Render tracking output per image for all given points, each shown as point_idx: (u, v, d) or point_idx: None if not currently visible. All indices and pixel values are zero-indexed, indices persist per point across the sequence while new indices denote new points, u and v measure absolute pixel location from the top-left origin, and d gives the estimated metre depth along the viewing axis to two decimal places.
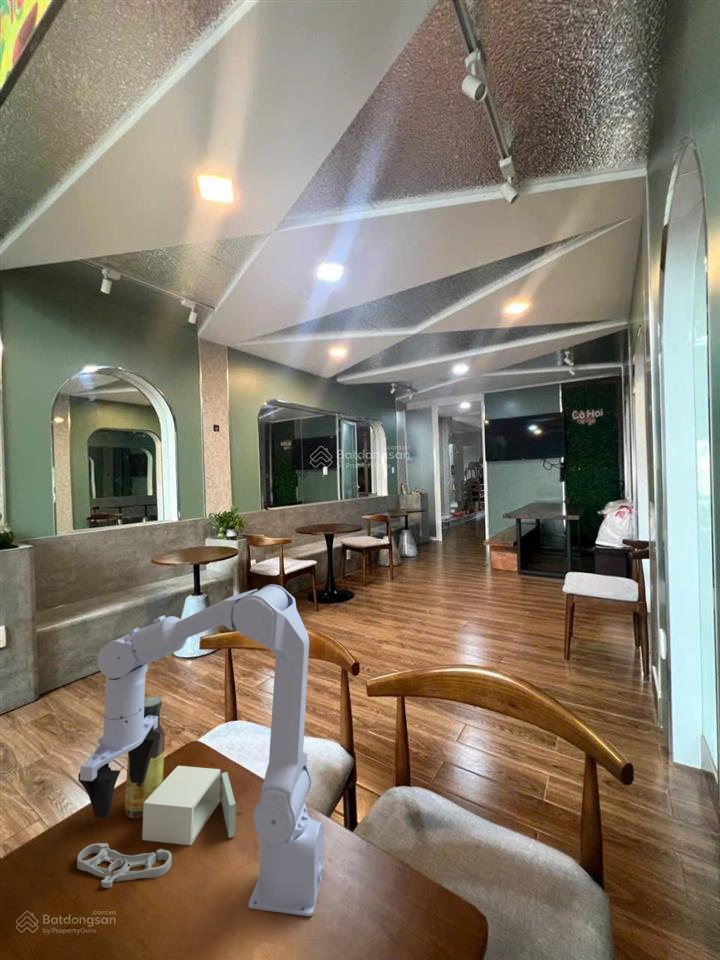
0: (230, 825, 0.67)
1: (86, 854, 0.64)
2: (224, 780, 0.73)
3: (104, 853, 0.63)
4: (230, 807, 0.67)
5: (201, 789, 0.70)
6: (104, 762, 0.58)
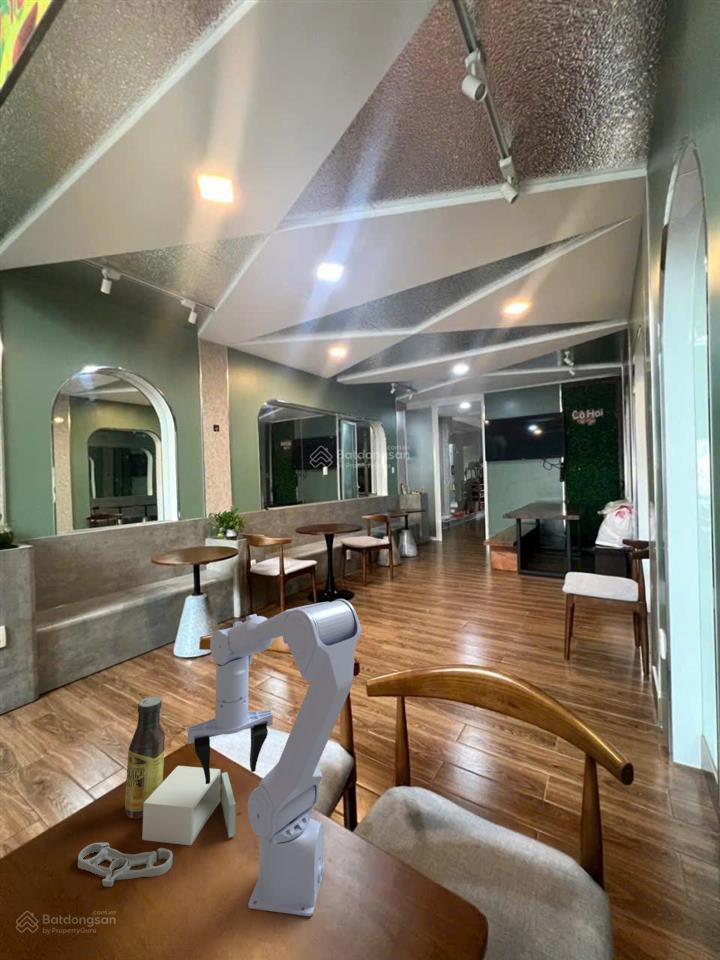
0: (230, 825, 0.67)
1: (87, 853, 0.64)
2: (224, 780, 0.73)
3: (105, 852, 0.63)
4: (230, 807, 0.67)
5: (201, 789, 0.70)
6: (200, 733, 0.67)
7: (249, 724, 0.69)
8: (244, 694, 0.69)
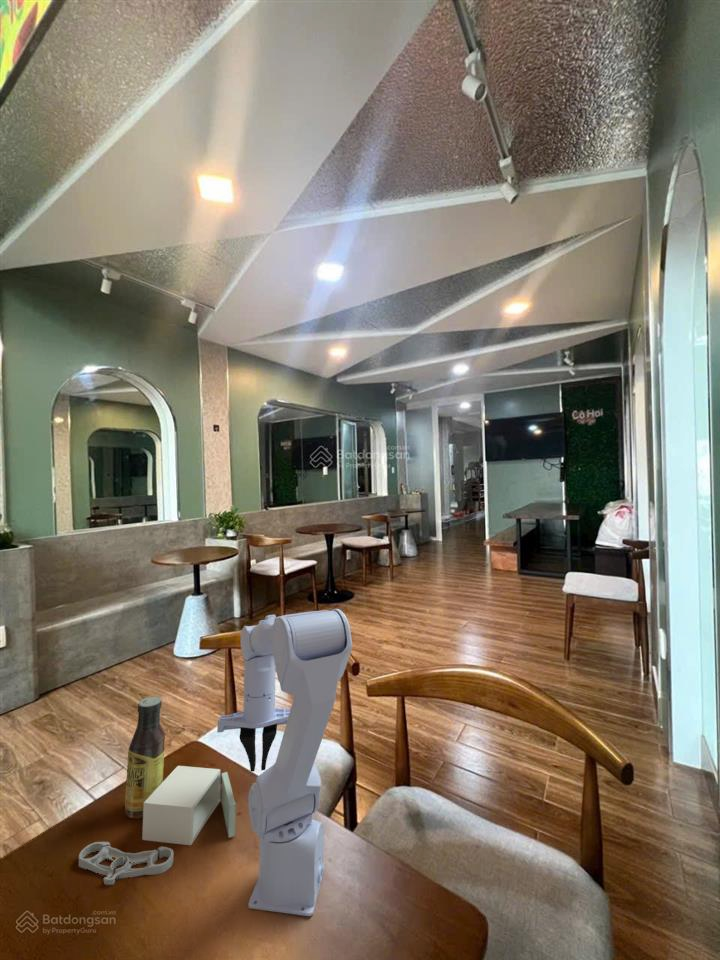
0: (230, 825, 0.67)
1: (87, 853, 0.64)
2: (224, 780, 0.73)
3: (105, 851, 0.63)
4: (230, 807, 0.67)
5: (201, 789, 0.70)
6: (228, 724, 0.70)
7: (274, 721, 0.70)
8: (268, 691, 0.71)
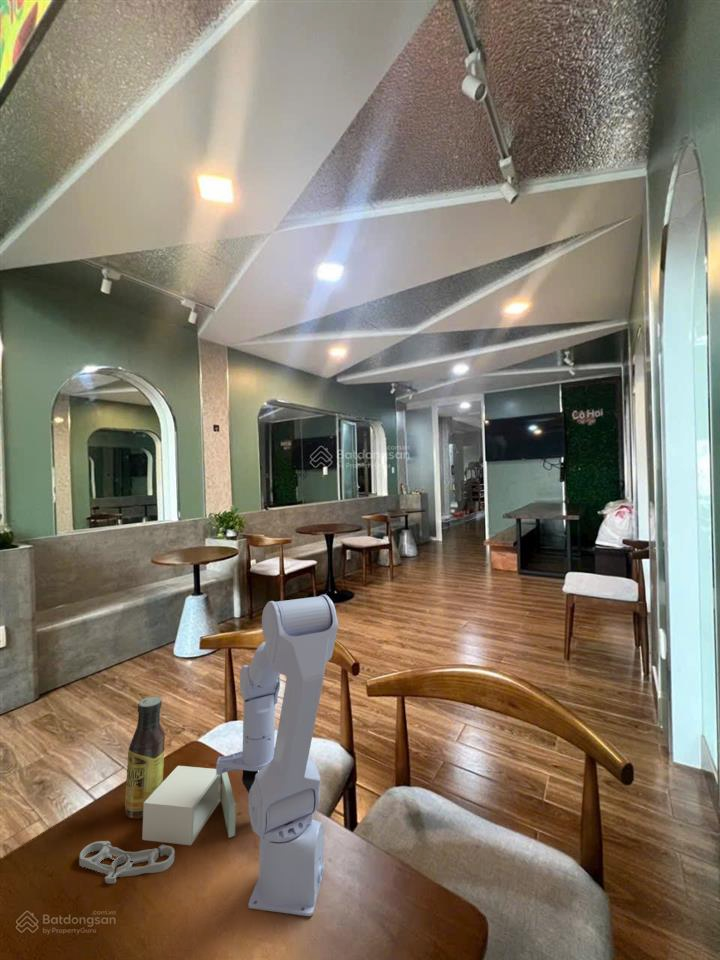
0: (230, 825, 0.67)
1: (88, 852, 0.64)
2: (224, 780, 0.73)
3: (106, 850, 0.64)
4: (230, 807, 0.67)
5: (201, 789, 0.70)
6: (227, 766, 0.69)
7: None
8: (267, 733, 0.70)
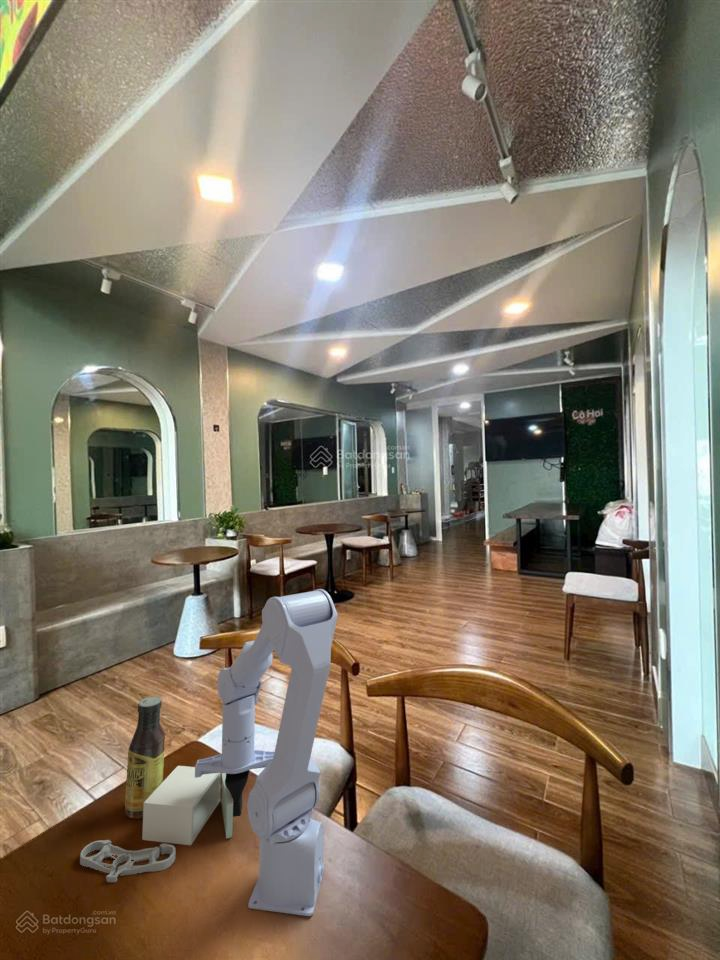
0: (227, 826, 0.67)
1: (88, 851, 0.64)
2: (223, 780, 0.73)
3: (107, 849, 0.64)
4: (227, 808, 0.67)
5: (201, 789, 0.70)
6: (206, 769, 0.69)
7: (252, 766, 0.69)
8: (249, 733, 0.70)
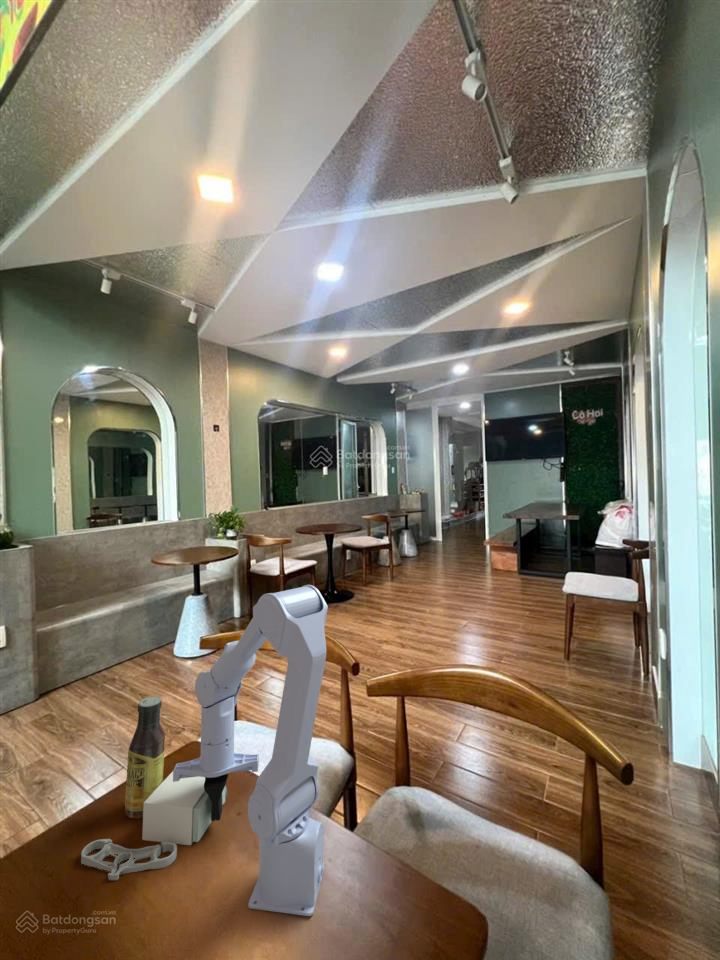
0: (194, 829, 0.66)
1: (89, 850, 0.64)
2: None
3: (108, 848, 0.64)
4: (194, 811, 0.66)
5: (201, 789, 0.70)
6: (184, 773, 0.68)
7: (231, 769, 0.68)
8: (230, 735, 0.70)
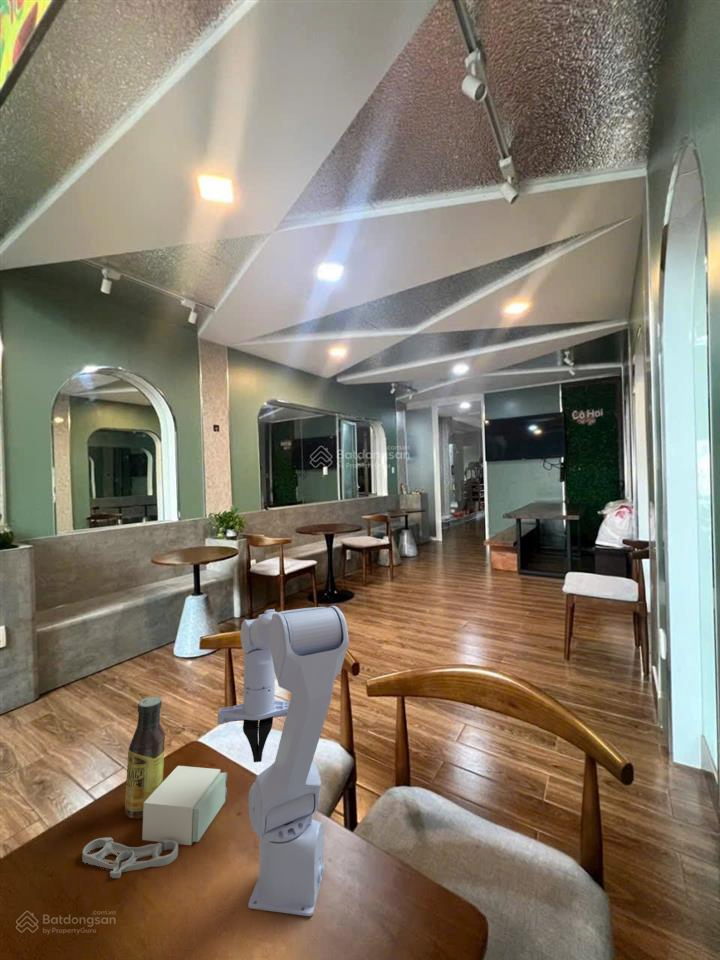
0: (194, 829, 0.66)
1: (90, 849, 0.65)
2: (215, 780, 0.73)
3: (109, 846, 0.64)
4: (194, 811, 0.66)
5: (201, 789, 0.70)
6: (228, 716, 0.71)
7: (273, 713, 0.71)
8: (267, 684, 0.72)
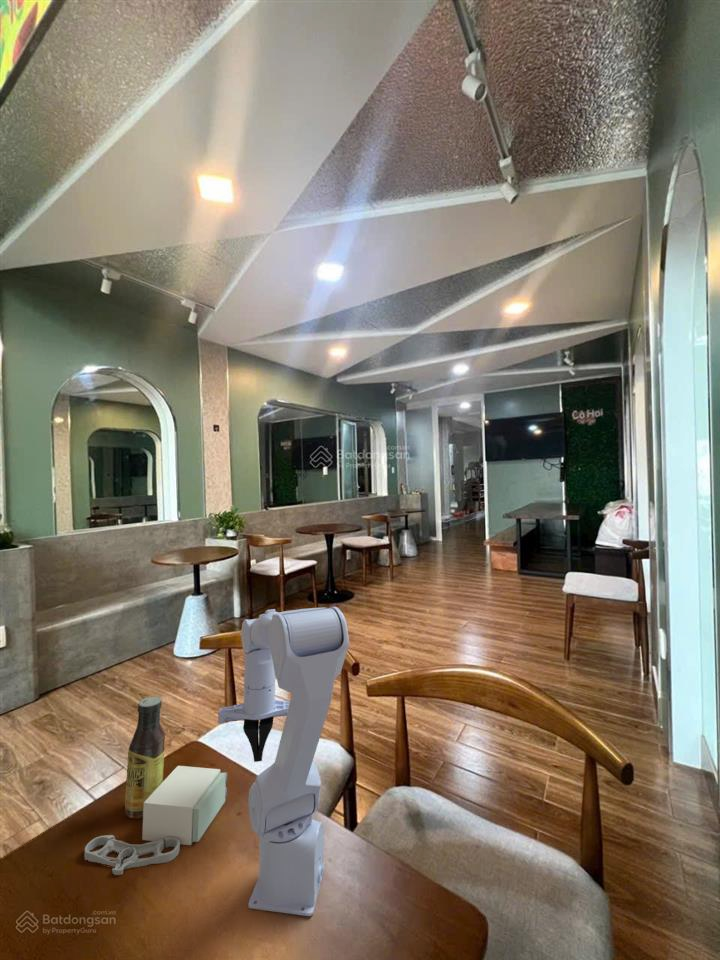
0: (194, 829, 0.66)
1: (92, 846, 0.65)
2: (215, 780, 0.73)
3: (111, 844, 0.65)
4: (194, 811, 0.66)
5: (201, 789, 0.70)
6: (229, 715, 0.71)
7: (274, 713, 0.71)
8: (268, 684, 0.72)
